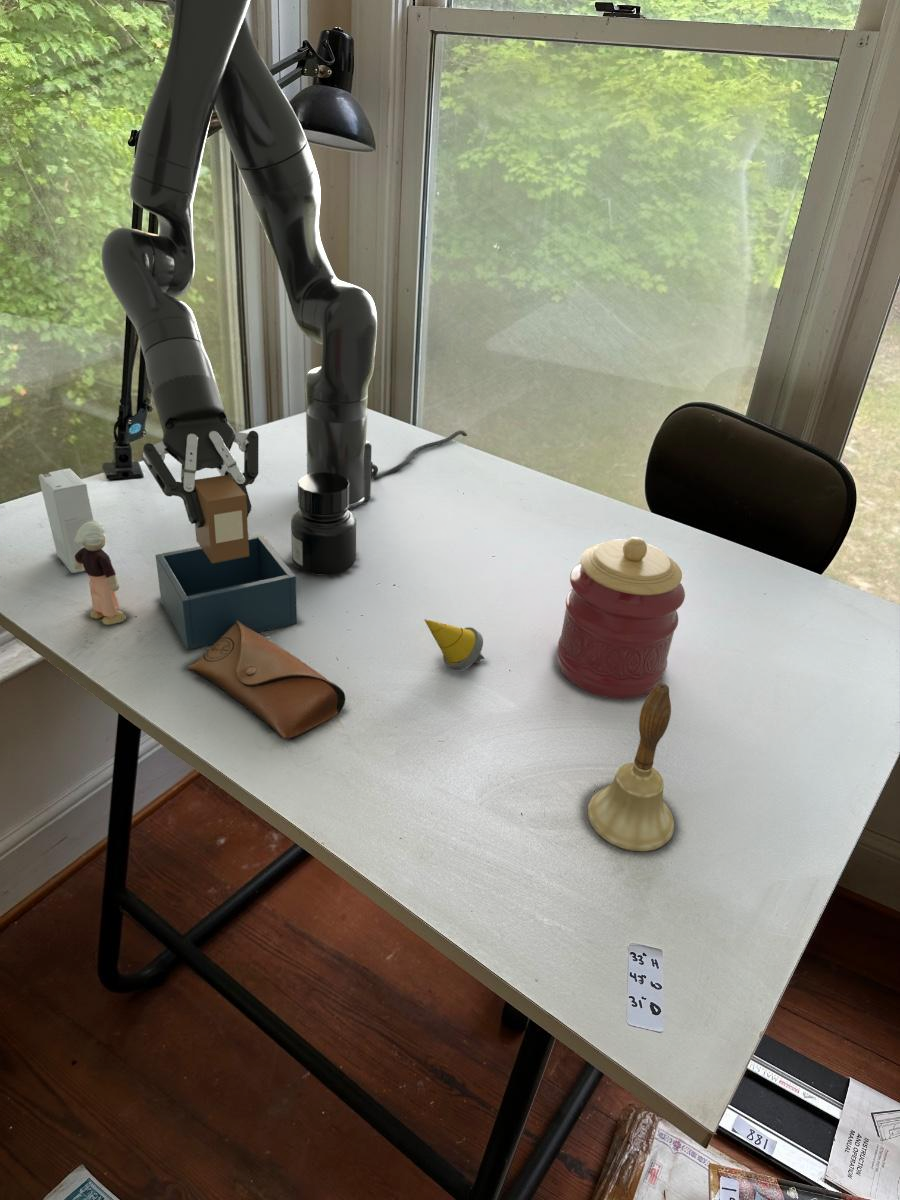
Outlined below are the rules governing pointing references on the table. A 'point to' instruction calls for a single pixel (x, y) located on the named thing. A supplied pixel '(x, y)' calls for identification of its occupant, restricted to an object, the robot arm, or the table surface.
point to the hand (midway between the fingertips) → (223, 521)
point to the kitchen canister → (620, 618)
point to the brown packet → (222, 519)
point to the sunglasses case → (270, 682)
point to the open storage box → (226, 592)
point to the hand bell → (638, 788)
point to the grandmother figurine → (98, 572)
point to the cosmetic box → (66, 512)
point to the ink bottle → (323, 525)
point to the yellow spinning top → (457, 644)
